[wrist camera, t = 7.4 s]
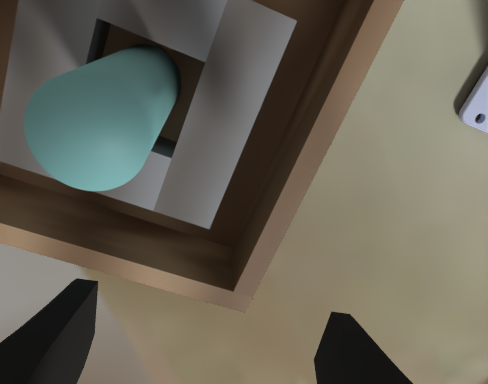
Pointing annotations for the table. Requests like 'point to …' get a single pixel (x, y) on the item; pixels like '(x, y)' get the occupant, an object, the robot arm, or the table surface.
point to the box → (188, 132)
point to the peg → (102, 117)
